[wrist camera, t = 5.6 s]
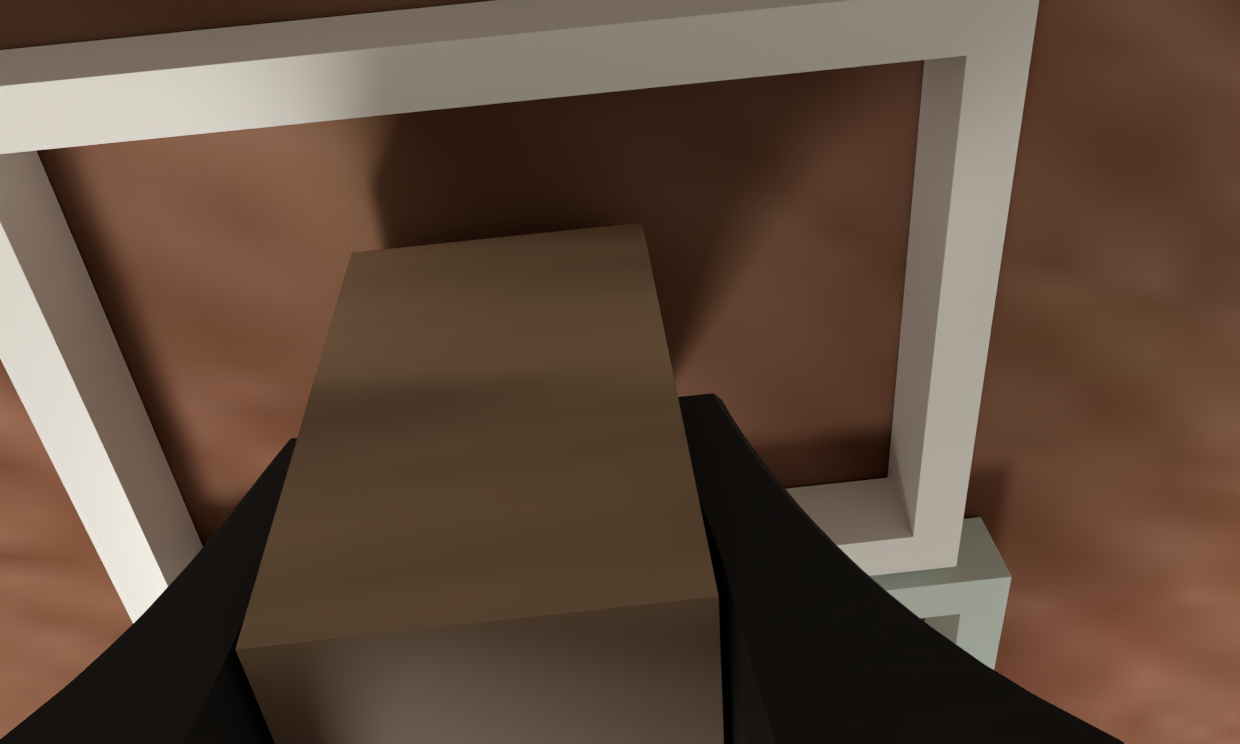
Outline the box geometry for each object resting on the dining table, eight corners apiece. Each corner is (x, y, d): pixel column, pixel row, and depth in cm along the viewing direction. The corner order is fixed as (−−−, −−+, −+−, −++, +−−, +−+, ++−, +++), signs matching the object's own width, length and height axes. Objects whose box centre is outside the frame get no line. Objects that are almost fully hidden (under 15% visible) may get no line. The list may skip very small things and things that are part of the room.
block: (659, 449, 17) (728, 866, 11) (407, 476, 17) (344, 909, 11) (641, 222, 15) (719, 596, 9) (352, 252, 14) (235, 648, 9)
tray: (928, 506, 19) (956, 565, 18) (173, 589, 19) (148, 655, 18) (995, -51, 14) (1041, -19, 12) (-69, 56, 13) (-130, 99, 12)
